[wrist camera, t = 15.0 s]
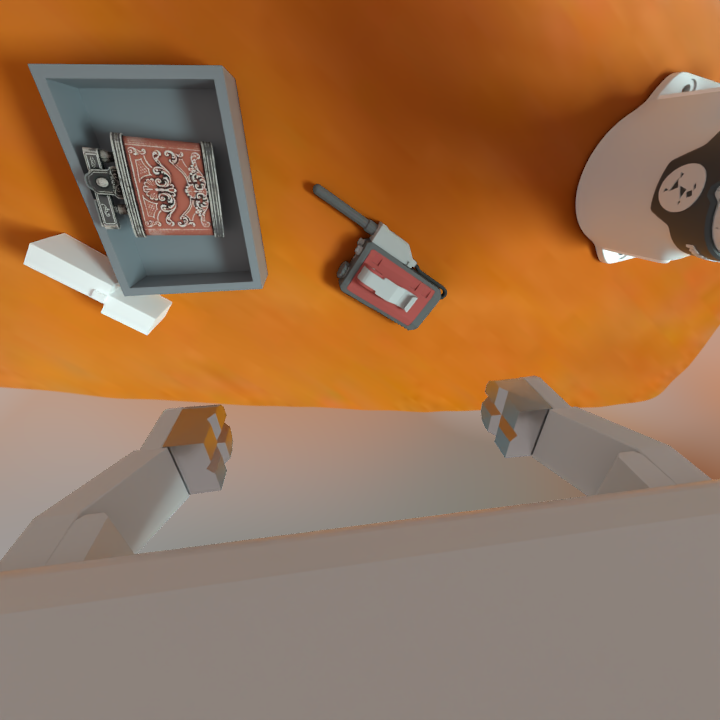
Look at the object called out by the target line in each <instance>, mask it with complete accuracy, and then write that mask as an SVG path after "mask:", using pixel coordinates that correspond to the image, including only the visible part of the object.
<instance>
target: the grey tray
mask: <svg viewBox="0 0 720 720" xmlns="http://www.w3.org/2000/svg"><path fill="white" fill-rule="evenodd" d="M28 66H29V69H30V71H31V74H32V76H33V78H34V81H35V83H36V86H37V88H38V90H39V93H40V95H41V98H42V100H43V102H44V105H45V107H46V110H47V112H48V114H49V117H50V119H51V122H52V124H53V126H54V129H55V131H56V134H57V136H58V138H59V141H60V143H61V146H62V148H63V150H64V153H65V155H66V158H67V160H68V162H69V165H70V167H71V170H72V172H73V174H74V177H75V179H76V182H77V184H78V186H79V189H80V191H81V194H82V196H83V198H84V201H85V203H86V206H87V208H88V210H89V213H90V215H91V218H92V220H93V222H94V225H95V227H96V230H97V232H98V234H99V237H100V239H101V242H102V244H103V246H104V249H105V251H106V254H107V256H108V258H109V261H110V263H111V266H112V268H113V270H114V273H115V275H116V278H117V280H118V282H119V285H120V287H121V290H122V292H123V294H124V296H140V295H158V294H176V293H194V292H212V291H230V290H248V289H262V288H263V286H264V283H265V281H266V278H267V275H268V272H267V266H266V260H265V254H264V248H263V242H262V236H261V230H260V224H259V218H258V212H257V206H256V200H255V194H254V188H253V182H252V176H251V170H250V164H249V158H248V152H247V146H246V140H245V134H244V128H243V122H242V116H241V110H240V104H239V98H238V92H237V86H236V80H235V78H234V77H233V76H232V75H231V74H230V73H229V72H228V71H227V70H226V69H225V68H224V67H223V66H220V65H108V64H28ZM110 132H115V133H122V134H123V136H130V137H140V138H151V139H161V140H171V141H182V142H192V143H200V141H205V142H211V143H212V148H213V155H214V162H215V169H216V176H217V183H218V190H219V198H220V205H221V213H222V221H223V229H224V237H214V235H147V237H136V236H135V234H134V231H133V228H132V225H131V221H130V218H129V214H120V213H117V215H118V219H119V222H120V229H106V228H105V227H102V225H101V222H100V219H99V215H98V212H97V208H96V205H95V202H94V200H95V199H96V195H95V192H94V191H93V190H91V189H90V188H88V187H87V185H86V183H85V180H84V176H85V174H86V173H88V172H89V171H88V168H87V164H86V161H85V157H84V154H83V150H82V147H88V148H98V149H103V150H106V151H109V152H113V150H112V146H111V141H110ZM104 166H105V170H107V169H109V167H111V166H114V167H116V164H115V162H109V163H104ZM112 196H113V200H114V204H115V205H118V204H126V203H125V200H124V199H119V198H117V197H116V196H115V195H112Z"/></svg>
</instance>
